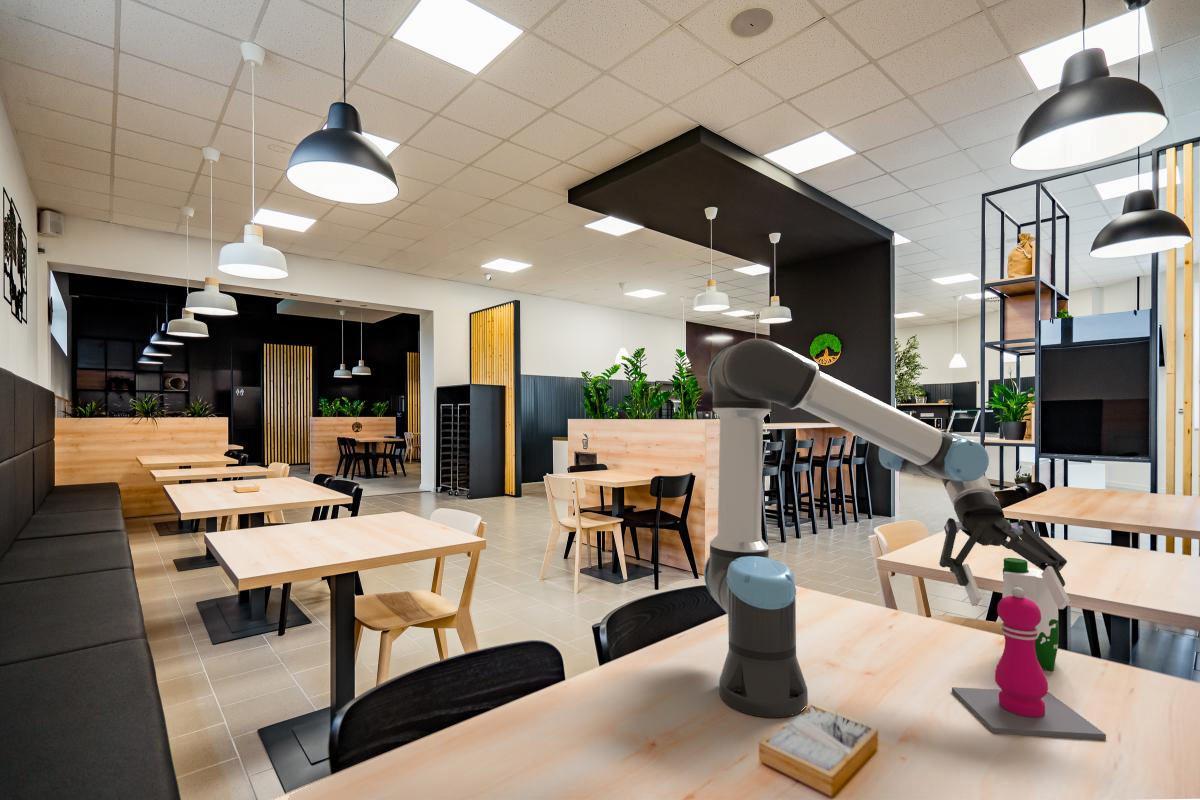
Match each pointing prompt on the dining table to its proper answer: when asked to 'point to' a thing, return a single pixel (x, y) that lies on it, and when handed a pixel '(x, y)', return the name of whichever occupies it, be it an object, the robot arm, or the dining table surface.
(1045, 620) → the milk carton
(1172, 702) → the dining table surface
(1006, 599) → the pepper mill
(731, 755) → the dining table surface
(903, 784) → the dining table surface
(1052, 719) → the rubber mat
